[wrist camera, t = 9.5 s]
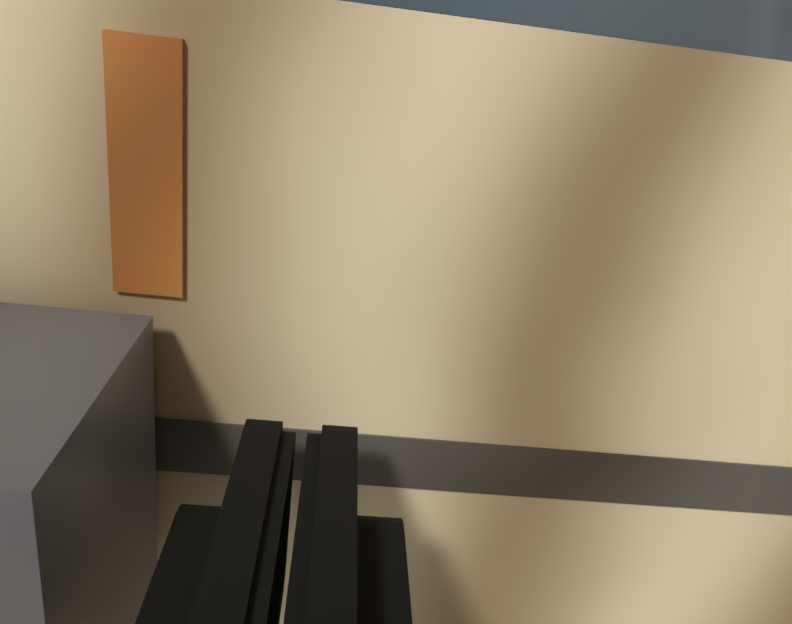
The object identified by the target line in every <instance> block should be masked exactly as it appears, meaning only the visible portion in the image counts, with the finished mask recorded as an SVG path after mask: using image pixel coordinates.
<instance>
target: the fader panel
mask: <svg viewBox="0 0 792 624" xmlns="http://www.w3.org/2000/svg"><path fill="white" fill-rule="evenodd" d="M0 302H5V303H15V304H26V305H37V306H48V307H59V308H70V309H81V310H92V311H103V312H114V313H125V314H136V315H147V316H153V343H154V397H155V452H156V506H157V560H159V557H160V554H161V552H162V549H163V546H164V544H165V541H166V538H167V536H168V533H169V530H170V527H171V525H172V522H173V519H174V517H175V514H176V512H177V510H178V508H179V506H180V505H181V504H191V505H207V506H222V502H223V499H224V495H225V491H226V488H227V484H228V481H229V477H230V474H231V470H232V467H233V463H234V460H235V456H236V453H237V449H238V446H239V442H240V438H241V435H242V431H243V428H244V424H245V421H246V419H258V420H271V421H283V431H288V432H296V442H295V456H294V469H293V482H292V495H291V508H290V521H289V534H288V547H287V560H286V572H285V582H284V591H283V599H282V606H281V614H280V621H279V624H283V622H284V614H285V606H286V598H287V590H288V582H289V574H290V566H291V558H292V551H293V543H294V535H295V527H296V519H297V511H298V503H299V495H300V487H301V479H302V471H303V463H304V455H305V447H306V439H307V433H315V434H322V424H323V425H336V426H349V427H357V428H358V493H357V515H360V516H376V517H391V518H402V520H403V523H404V531H405V542H406V554H407V565H408V577H409V588H410V600H411V611H412V623H413V624H792V62H789V61H781V60H774V59H766V58H759V57H752V56H744V55H737V54H730V53H722V52H715V51H707V50H700V49H693V48H685V47H678V46H671V45H663V44H656V43H649V42H641V41H634V40H626V39H619V38H612V37H604V36H597V35H590V34H582V33H575V32H567V31H560V30H553V29H545V28H538V27H531V26H523V25H516V24H508V23H501V22H494V21H486V20H479V19H472V18H464V17H457V16H450V15H442V14H435V13H427V12H420V11H413V10H405V9H398V8H391V7H383V6H376V5H368V4H361V3H354V2H346V1H339V0H0Z"/></svg>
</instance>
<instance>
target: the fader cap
mask: <svg viewBox="0 0 792 624" xmlns="http://www.w3.org/2000/svg"><path fill="white" fill-rule="evenodd" d="M157 563H158V560H157V506H156V452H155V397H154V343H153V316H147V315H136V314H125V313H114V312H103V311H92V310H81V309H70V308H59V307H48V306H37V305H26V304H15V303H5V302H0V624H135V622H136V619H137V617H138V614H139V611H140V608H141V606H142V603H143V600H144V598H145V595H146V592H147V590H148V587H149V584H150V581H151V579H152V576H153V573H154V571H155V568H156V565H157Z"/></svg>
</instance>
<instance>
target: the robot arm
mask: <svg viewBox="0 0 792 624" xmlns="http://www.w3.org/2000/svg"><path fill="white" fill-rule="evenodd" d="M295 442H296V432H288V431H283V421H271V420H258V419H246V421H245V424H244V428H243V431H242V435H241V438H240V442H239V446H238V449H237V453H236V456H235V460H234V463H233V467H232V470H231V474H230V477H229V481H228V484H227V488H226V491H225V495H224V499H223V502H222V506H207V505H191V504H181V505H180V506H179V508H178V510H177V512H176V514H175V517H174V519H173V522H172V525H171V527H170V530H169V533H168V536H167V538H166V541H165V544H164V546H163V549H162V552H161V554H160V557H159V560H158V563H157V565H156V568H155V571H154V573H153V576H152V579H151V581H150V584H149V587H148V590H147V592H146V595H145V598H144V600H143V603H142V606H141V608H140V611H139V614H138V617H137V619H136V622H135V624H279V621H280V614H281V606H282V599H283V591H284V582H285V572H286V560H287V547H288V534H289V521H290V508H291V495H292V482H293V469H294V456H295ZM357 493H358V428H357V427H349V426H336V425H323V424H322V434H315V433H307V439H306V447H305V455H304V463H303V471H302V479H301V487H300V495H299V503H298V511H297V519H296V527H295V535H294V543H293V551H292V558H291V566H290V574H289V582H288V590H287V598H286V606H285V614H284V622H283V624H413V623H412V611H411V600H410V588H409V577H408V565H407V554H406V542H405V531H404V523H403V520H402V518H391V517H376V516H360V515H357Z"/></svg>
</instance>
